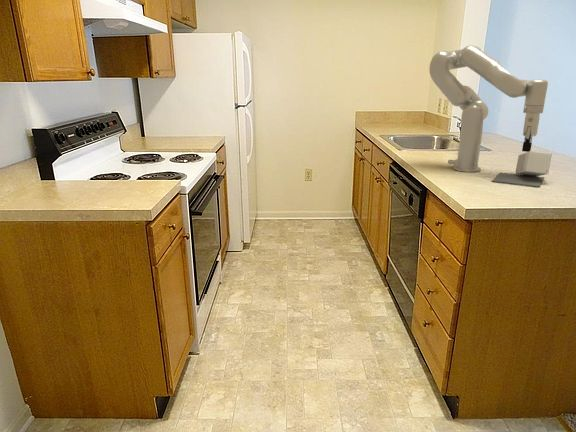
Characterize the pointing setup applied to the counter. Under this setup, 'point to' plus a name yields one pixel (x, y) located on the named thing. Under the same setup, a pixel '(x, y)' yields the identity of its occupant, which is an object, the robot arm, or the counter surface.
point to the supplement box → (533, 163)
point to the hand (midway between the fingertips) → (526, 151)
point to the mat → (518, 179)
